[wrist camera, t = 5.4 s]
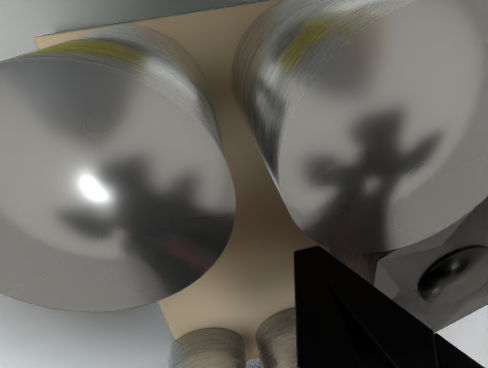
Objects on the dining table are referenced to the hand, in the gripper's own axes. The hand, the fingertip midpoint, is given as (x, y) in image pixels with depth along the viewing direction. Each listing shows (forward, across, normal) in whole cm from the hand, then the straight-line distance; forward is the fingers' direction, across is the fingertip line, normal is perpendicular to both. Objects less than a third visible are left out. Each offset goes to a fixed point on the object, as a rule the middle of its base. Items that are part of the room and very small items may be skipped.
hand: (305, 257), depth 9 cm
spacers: (+1, 0, 0) cm, 1 cm away
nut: (+1, -3, 0) cm, 3 cm away
